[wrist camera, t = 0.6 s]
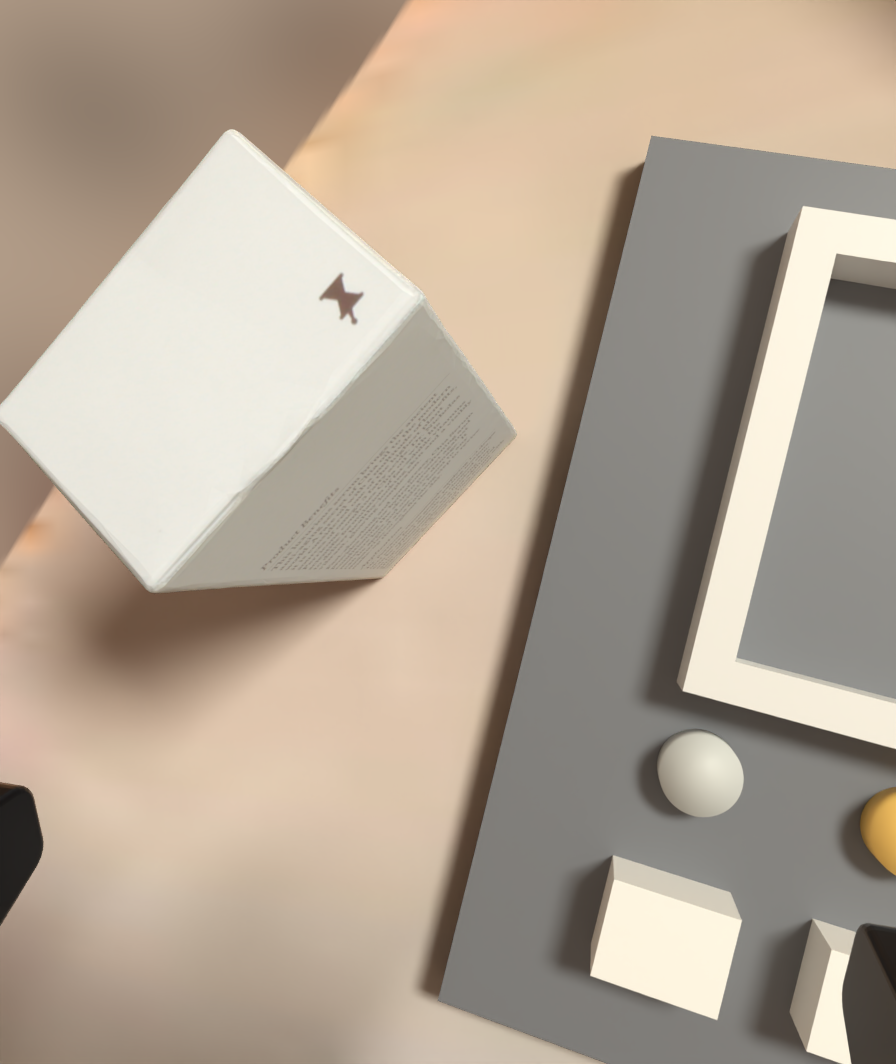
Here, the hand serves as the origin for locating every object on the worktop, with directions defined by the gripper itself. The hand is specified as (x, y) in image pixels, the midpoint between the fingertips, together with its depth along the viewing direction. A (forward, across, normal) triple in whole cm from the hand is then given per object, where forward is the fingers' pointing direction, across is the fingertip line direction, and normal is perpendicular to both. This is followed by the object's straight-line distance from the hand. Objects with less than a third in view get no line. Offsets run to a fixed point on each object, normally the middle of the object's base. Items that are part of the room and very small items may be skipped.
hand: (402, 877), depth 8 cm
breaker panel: (+14, -9, +4) cm, 17 cm away
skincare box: (+16, +4, 0) cm, 16 cm away
